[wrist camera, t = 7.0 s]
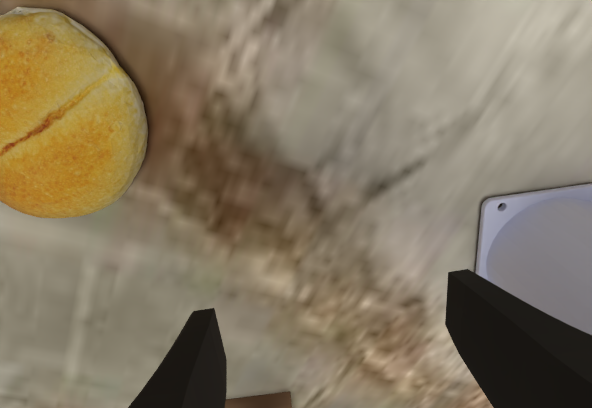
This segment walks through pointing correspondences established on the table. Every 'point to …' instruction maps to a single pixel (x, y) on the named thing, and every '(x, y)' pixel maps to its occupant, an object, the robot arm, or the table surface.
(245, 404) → the walnut block
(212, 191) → the table surface
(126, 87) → the bread roll
